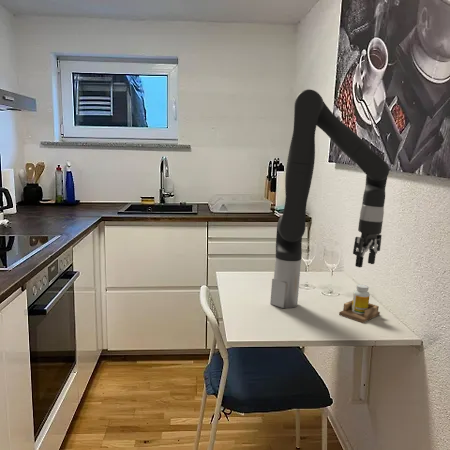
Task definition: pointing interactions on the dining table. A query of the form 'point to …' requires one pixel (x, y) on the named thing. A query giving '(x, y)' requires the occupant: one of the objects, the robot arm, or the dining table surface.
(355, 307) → the supplement bottle
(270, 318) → the dining table surface
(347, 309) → the u rest
